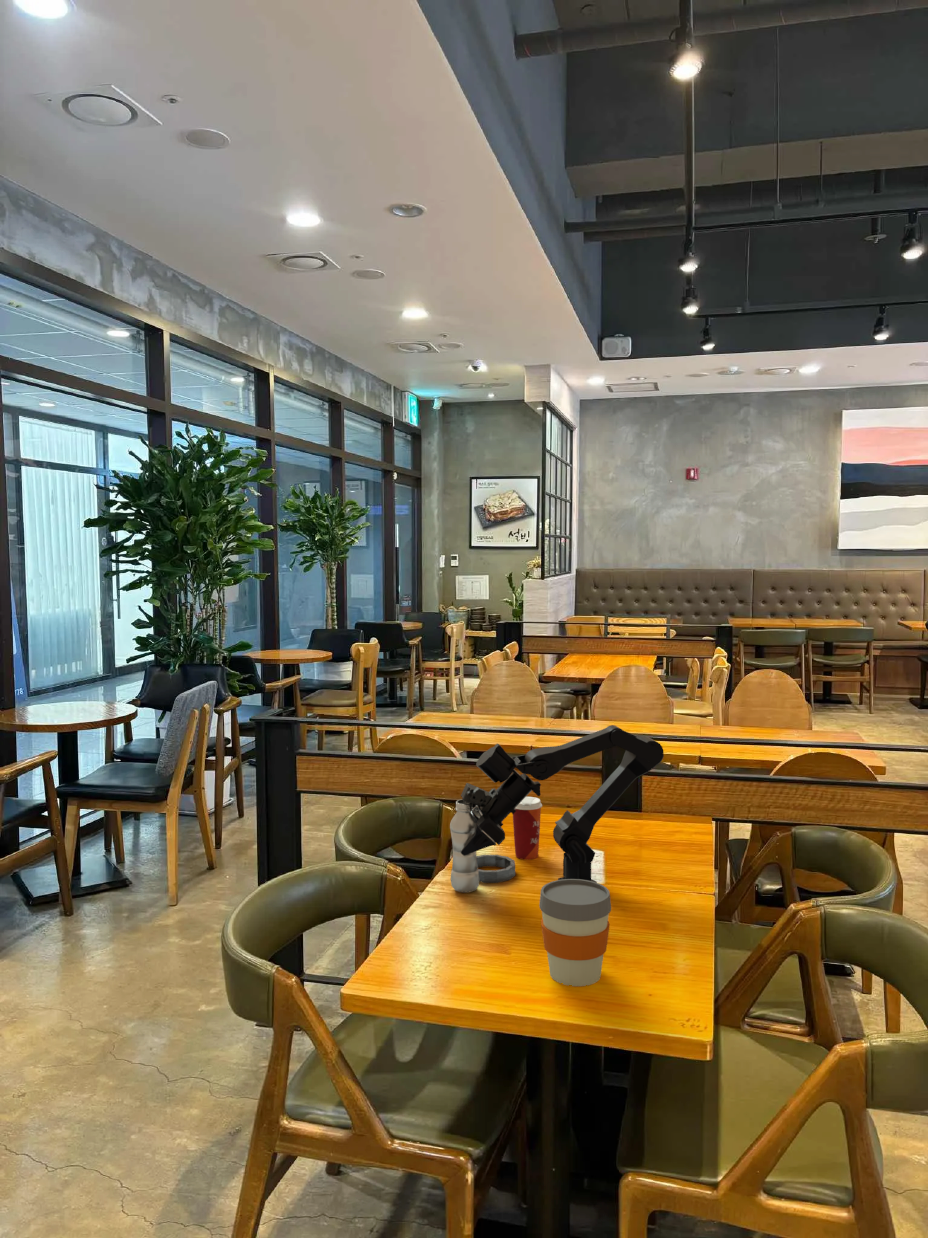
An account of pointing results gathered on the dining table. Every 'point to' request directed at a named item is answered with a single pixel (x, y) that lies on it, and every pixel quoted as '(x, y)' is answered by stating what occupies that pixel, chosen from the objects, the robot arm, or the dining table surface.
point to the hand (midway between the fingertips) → (459, 847)
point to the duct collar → (495, 875)
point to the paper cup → (527, 828)
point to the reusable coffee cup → (575, 929)
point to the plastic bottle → (461, 832)
